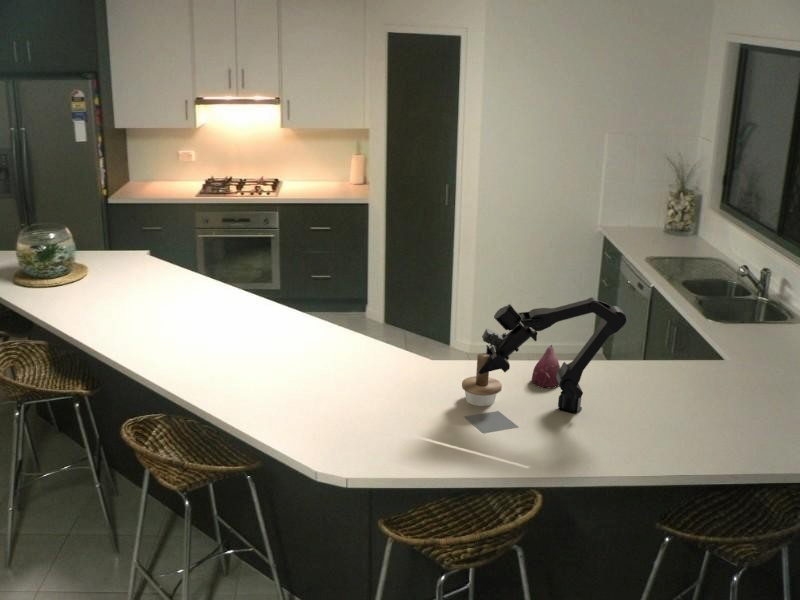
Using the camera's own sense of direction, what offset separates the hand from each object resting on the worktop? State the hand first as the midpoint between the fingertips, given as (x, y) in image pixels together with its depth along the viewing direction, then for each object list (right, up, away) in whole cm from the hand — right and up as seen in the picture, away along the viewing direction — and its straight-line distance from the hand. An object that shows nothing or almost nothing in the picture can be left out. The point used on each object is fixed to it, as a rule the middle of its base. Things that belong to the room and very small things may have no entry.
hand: (478, 370), depth 328 cm
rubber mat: (+3, -16, -7) cm, 18 cm away
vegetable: (+26, -6, +27) cm, 38 cm away
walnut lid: (+1, -6, +2) cm, 6 cm away
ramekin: (+1, -11, +9) cm, 15 cm away
